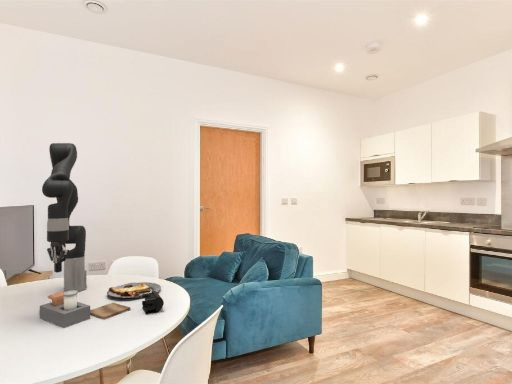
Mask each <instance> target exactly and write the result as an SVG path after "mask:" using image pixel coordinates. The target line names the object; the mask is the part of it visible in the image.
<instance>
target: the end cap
mask: <svg viewBox="0 0 512 384" xmlns="http://www.w3.org/2000/svg"><path fill="white" fill-rule="evenodd" d="M151 292H152V293H151ZM141 299H144V300H142V301H141V305H142V310H143V312H144V314H145V315H151V314H157V313H159V311H161V310H162V309H163V306H164V299H163V298H162V297H161V295H160V294H159V293H158V292H156V291H152V290H151V291H150V292H147V293H145V294H142V297H141Z"/></svg>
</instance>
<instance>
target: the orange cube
mask: <svg viewBox="0 0 512 384" xmlns="http://www.w3.org/2000/svg"><path fill="white" fill-rule="evenodd" d="M63 293H64V291H59V292H56V293H52V294H48V295H47V299H49V300H51V302H52V305H54V306H57V305H60V304H64V296H63Z"/></svg>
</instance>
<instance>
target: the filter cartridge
mask: <svg viewBox="0 0 512 384" xmlns="http://www.w3.org/2000/svg"><path fill="white" fill-rule="evenodd" d="M63 292H64V291H63ZM63 296H64V310H65V311H69V310H72V309H75V308H77V302H78V292H77V290H71V291H66V292H64V293H63Z"/></svg>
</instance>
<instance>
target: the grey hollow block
mask: <svg viewBox="0 0 512 384" xmlns="http://www.w3.org/2000/svg"><path fill="white" fill-rule="evenodd" d="M90 310H91V305H89V304H86V303H82V302H79V301H77V308H75V309H72V310H69V311H65V310H64V304H60V305H57V306H54V305H52V301H51V302H47V303H43V304H41V305H40V304H39V319H41V320H44V321H46V322H49V323H51V324H54V325H56V326H58V327H61V328H63V329H65V328H67V327H70V326H73V325H75V324H78V323H81V322H84V321H87V320H90V319H91V315H90Z"/></svg>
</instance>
